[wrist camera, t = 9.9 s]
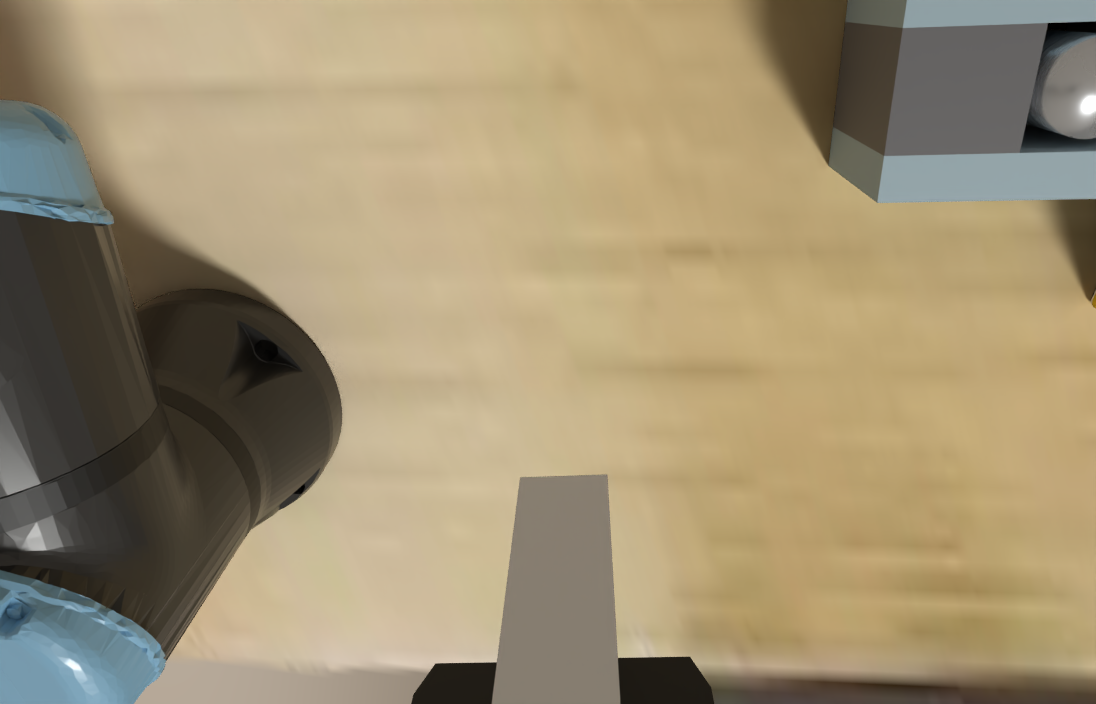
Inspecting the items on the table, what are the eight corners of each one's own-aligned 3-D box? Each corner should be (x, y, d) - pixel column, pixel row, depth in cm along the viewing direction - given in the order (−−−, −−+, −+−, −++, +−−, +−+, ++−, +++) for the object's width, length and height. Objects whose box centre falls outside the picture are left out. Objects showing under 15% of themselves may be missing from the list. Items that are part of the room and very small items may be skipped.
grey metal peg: (958, 115, 39) (1034, 140, 32) (974, 29, 37) (1058, 36, 30) (1041, 112, 38) (1135, 138, 32) (1061, 25, 37) (1165, 32, 30)
